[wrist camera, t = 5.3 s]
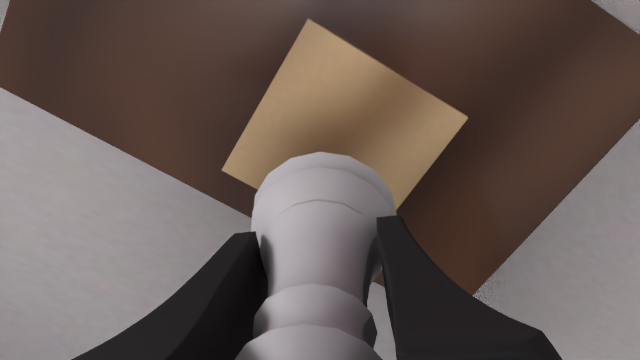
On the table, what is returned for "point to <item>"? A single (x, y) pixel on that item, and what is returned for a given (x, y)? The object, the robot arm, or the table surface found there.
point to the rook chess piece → (318, 259)
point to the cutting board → (347, 99)
